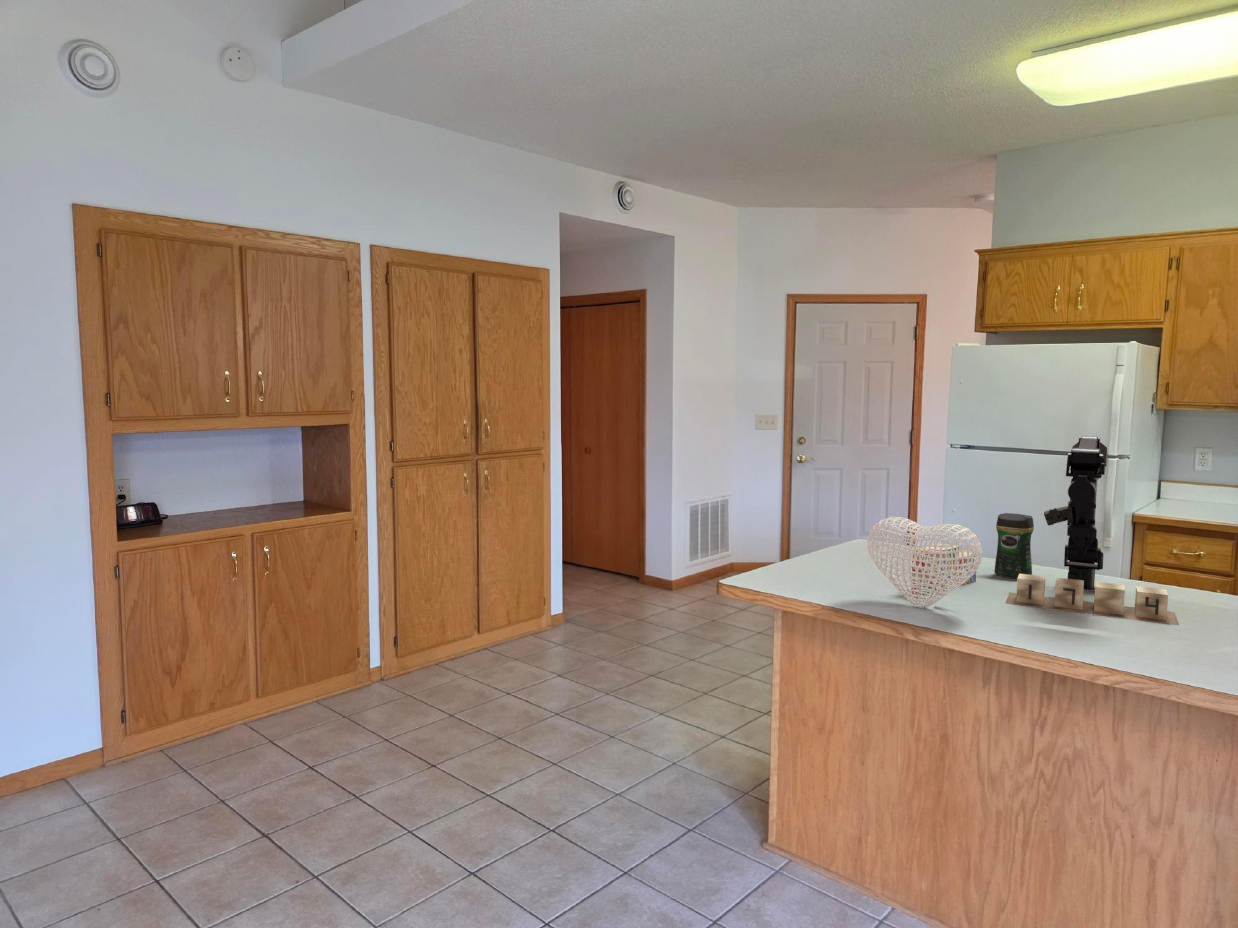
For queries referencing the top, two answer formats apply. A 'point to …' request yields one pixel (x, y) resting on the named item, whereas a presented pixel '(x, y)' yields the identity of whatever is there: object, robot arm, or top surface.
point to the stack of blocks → (970, 580)
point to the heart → (919, 531)
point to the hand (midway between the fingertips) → (1079, 558)
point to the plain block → (1109, 598)
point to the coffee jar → (1014, 545)
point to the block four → (1151, 603)
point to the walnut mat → (1089, 609)
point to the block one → (1030, 589)
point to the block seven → (1069, 593)
